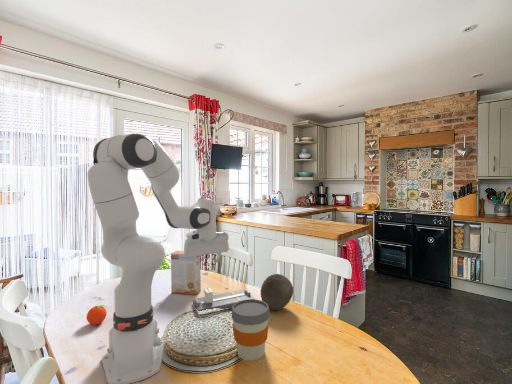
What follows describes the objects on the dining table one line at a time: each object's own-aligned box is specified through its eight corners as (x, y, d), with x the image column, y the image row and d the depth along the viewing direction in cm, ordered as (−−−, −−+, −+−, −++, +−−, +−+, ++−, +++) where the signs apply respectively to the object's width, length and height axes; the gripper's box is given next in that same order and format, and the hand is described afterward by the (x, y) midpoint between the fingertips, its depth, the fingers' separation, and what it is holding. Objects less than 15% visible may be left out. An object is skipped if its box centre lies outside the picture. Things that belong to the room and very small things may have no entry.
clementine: (106, 316, 113) (106, 300, 112) (111, 322, 108) (111, 305, 108) (84, 323, 107) (84, 306, 107) (89, 330, 102) (88, 311, 102)
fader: (213, 302, 119) (212, 291, 119) (207, 303, 118) (207, 292, 118) (210, 297, 123) (209, 287, 123) (204, 298, 122) (204, 288, 122)
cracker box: (201, 290, 139) (200, 251, 139) (196, 295, 134) (195, 254, 133) (176, 288, 142) (176, 250, 142) (171, 293, 137) (170, 252, 136)
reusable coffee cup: (239, 368, 80) (239, 319, 79) (227, 345, 91) (226, 302, 91) (276, 357, 85) (276, 311, 84) (260, 337, 96) (259, 296, 96)
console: (254, 303, 124) (254, 295, 124) (198, 315, 113) (198, 306, 113) (244, 294, 135) (244, 286, 135) (192, 304, 124) (192, 295, 123)
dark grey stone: (270, 319, 109) (269, 283, 109) (256, 305, 122) (255, 272, 122) (298, 312, 115) (298, 277, 115) (282, 299, 128) (282, 268, 128)
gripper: (226, 230, 128) (226, 259, 128) (182, 234, 119) (183, 264, 120) (230, 232, 123) (230, 262, 123) (185, 236, 114) (186, 268, 114)
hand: (207, 263), depth 121 cm, fingers open, 8 cm apart
